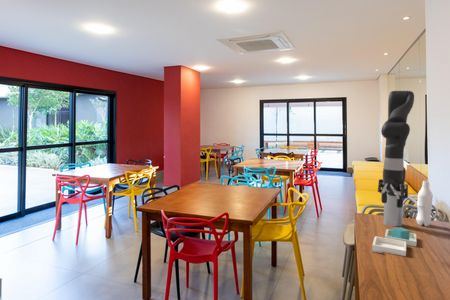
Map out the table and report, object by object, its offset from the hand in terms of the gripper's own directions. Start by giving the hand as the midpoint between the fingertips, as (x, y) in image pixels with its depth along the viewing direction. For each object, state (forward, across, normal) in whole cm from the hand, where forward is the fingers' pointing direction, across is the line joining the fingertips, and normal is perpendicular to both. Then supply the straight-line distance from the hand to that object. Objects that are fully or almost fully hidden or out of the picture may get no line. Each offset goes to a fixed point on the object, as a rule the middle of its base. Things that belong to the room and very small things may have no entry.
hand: (391, 205), depth 132 cm
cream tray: (+20, 0, 0) cm, 20 cm away
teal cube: (+19, +8, -14) cm, 25 cm away
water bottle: (+20, +26, -47) cm, 57 cm away
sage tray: (+20, +8, -14) cm, 25 cm away
